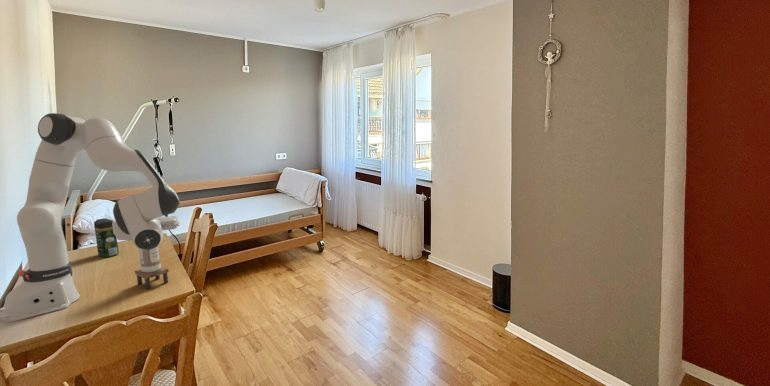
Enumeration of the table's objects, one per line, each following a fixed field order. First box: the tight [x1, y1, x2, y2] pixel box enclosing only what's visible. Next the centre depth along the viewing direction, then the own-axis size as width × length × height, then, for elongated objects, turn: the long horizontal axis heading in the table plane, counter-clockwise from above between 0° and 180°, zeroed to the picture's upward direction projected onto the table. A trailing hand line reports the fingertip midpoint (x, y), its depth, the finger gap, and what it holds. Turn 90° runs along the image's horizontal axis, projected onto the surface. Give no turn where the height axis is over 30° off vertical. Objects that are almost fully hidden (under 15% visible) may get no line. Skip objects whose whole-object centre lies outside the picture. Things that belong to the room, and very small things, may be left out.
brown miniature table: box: [134, 265, 169, 290], centre depth 160 cm, size 9×9×6 cm
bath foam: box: [138, 244, 162, 273], centre depth 157 cm, size 7×7×20 cm
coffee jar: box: [93, 217, 120, 258], centre depth 192 cm, size 10×8×19 cm
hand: (146, 219), depth 144 cm, fingers open, 8 cm apart
